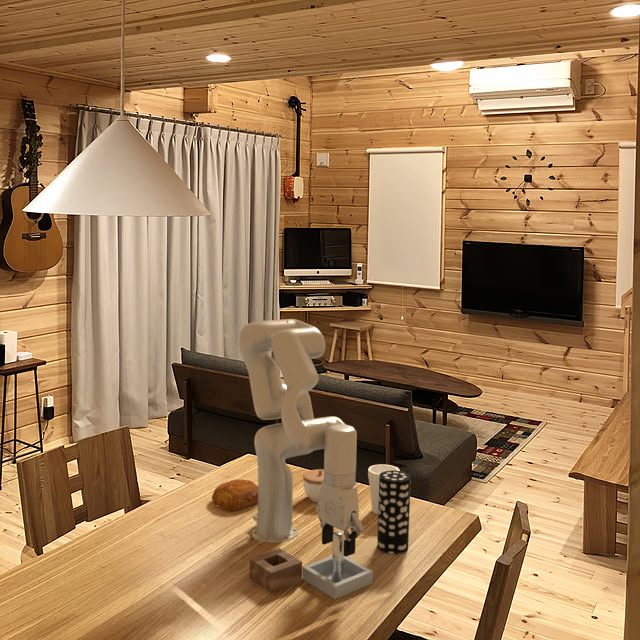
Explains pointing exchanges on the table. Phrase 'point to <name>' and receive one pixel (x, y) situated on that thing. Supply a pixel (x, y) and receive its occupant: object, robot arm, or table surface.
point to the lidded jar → (313, 483)
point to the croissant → (235, 495)
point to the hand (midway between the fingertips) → (338, 548)
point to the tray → (352, 581)
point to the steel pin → (337, 556)
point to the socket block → (275, 570)
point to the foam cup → (377, 483)
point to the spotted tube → (393, 512)
